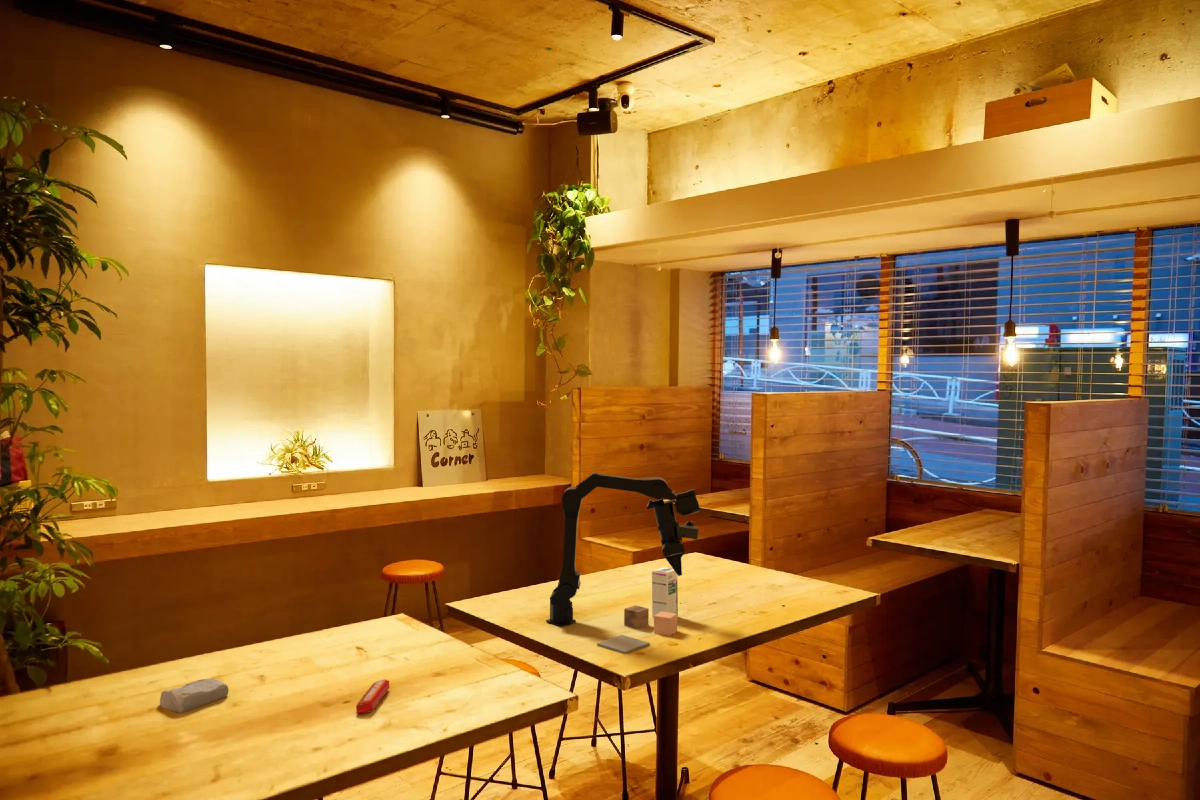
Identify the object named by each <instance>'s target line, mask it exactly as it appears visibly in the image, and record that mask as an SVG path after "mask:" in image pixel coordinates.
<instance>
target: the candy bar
mask: <svg viewBox="0 0 1200 800" xmlns="http://www.w3.org/2000/svg"><path fill="white" fill-rule="evenodd" d="M389 688H390V680H387V679H380V680H378V681H374V682H373V683H372V684H371V686H370V687H369V688H368V689H367V690H366V692H365V693H364V694H363V695H362V697H361V698H360V699H359V701H358V702H357V703H356V706H355V708H356V709H355V710H356V712H355V715H365V714H367V713H371V712H373V711H374V710H375V708H376V707H377V705H378V704H379V703H380V702H381V700H382V699H383V698H384V696H385V695H386V693H387V691H388V690H389Z"/></svg>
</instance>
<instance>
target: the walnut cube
mask: <svg viewBox="0 0 1200 800" xmlns="http://www.w3.org/2000/svg"><path fill="white" fill-rule="evenodd" d="M623 611H624V612H623V615H624V616H623V617H624V618H623V620H624V621H623V625H624V627H628V628H631V629H636V630H638V629H639V630H640V629H642V628H644V627H645V628H646V627H648V626H649V615H650V614H649V608H648V607H643V606H640V605H637V604H635V605H632V606H629V607H625V608H624V610H623Z"/></svg>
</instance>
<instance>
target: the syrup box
mask: <svg viewBox="0 0 1200 800" xmlns="http://www.w3.org/2000/svg"><path fill="white" fill-rule="evenodd" d="M678 591H679V589H678V575H677V573H676V572H675V571H674V569H673V568H672V567H664V566H663V567H660V568H657V569H654V570H651V606H652V607H651V609H652V610H651V614H652V615H651V616H652V617H651V618H653V619H654V615H656V614H658V613H659V612H661V611H662V612H669V613H676V614H677V617H678V616H679V613H678V612H679V608H678V607H679V606H678V604H679V601H678V600H679V599H678Z"/></svg>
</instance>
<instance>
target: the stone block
mask: <svg viewBox="0 0 1200 800" xmlns="http://www.w3.org/2000/svg"><path fill="white" fill-rule="evenodd" d="M229 691H230V690H229V686H228V684H227V683H225V682H223V681H221V680H218V679H216V678H203V679H197V680H196V681H192V682H189V683H185V684H184V685H182V686H181V687H175V688H172V689H168V690H163V691H161V693H160V699H159V704H160V706H161V707H162V709H166V710H169V711H173V712H175V713H178V714H182V713H185V712H189V711H191V710H194V709H198V708H200V707H203V706H206V705H209V704H211V703H214V702H217V701H220V700H223V699H224V698H225V697H227V696H228V694H229Z"/></svg>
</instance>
